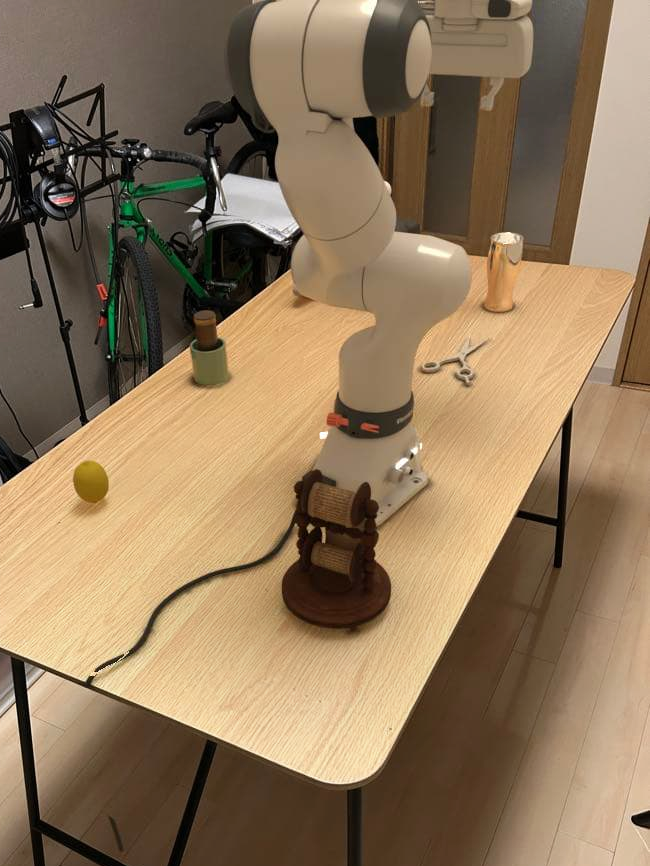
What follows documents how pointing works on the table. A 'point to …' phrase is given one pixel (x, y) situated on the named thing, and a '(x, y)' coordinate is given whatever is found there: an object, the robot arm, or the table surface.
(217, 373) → the tumbler
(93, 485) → the lemon
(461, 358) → the scissors
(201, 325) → the rod
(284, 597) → the wooden twine spool holder
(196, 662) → the table surface
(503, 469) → the table surface
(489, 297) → the beer glass
